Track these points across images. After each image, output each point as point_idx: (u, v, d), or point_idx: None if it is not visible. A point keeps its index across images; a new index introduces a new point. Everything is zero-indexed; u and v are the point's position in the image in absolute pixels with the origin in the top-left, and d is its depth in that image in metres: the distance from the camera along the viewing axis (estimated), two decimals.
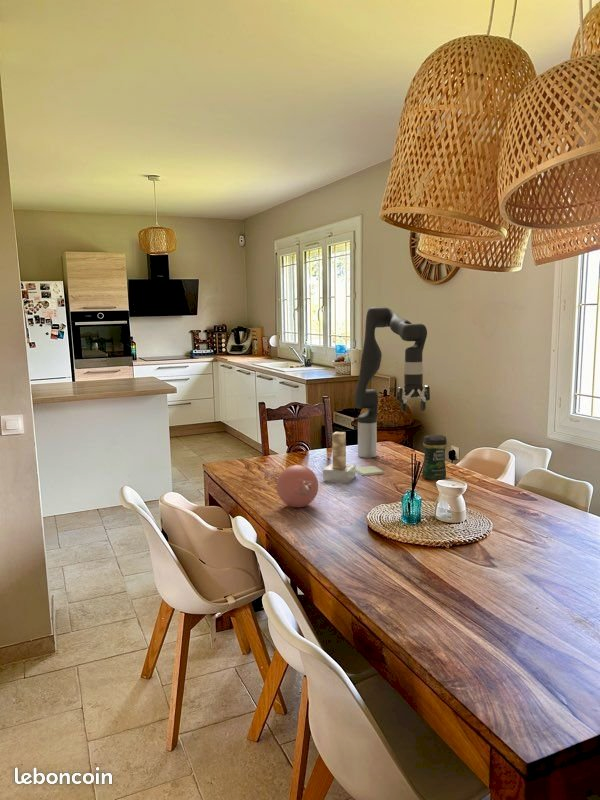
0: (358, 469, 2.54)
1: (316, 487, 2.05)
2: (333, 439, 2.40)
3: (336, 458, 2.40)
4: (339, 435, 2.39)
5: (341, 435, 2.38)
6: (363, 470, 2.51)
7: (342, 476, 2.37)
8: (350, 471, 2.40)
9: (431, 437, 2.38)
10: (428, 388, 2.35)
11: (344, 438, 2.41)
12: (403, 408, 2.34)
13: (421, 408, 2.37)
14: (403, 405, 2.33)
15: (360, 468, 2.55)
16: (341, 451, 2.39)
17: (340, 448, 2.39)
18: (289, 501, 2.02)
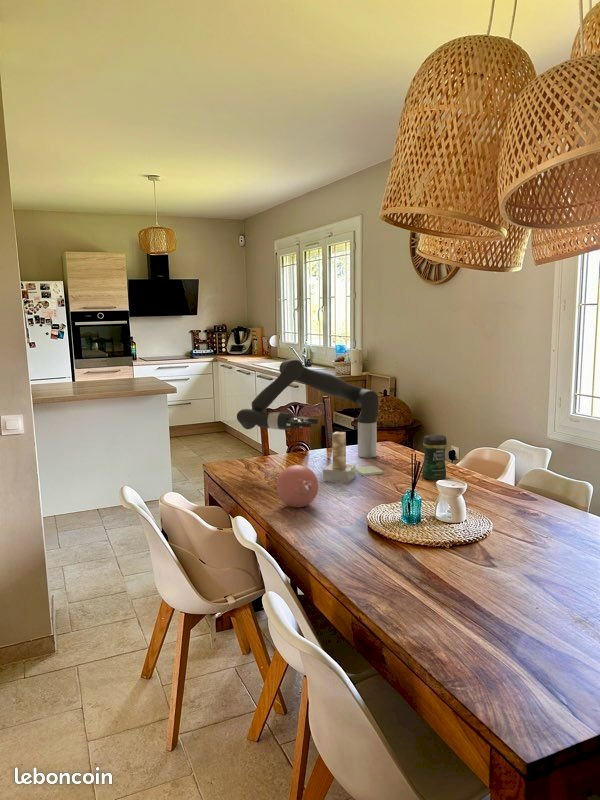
0: (358, 469, 2.54)
1: (316, 487, 2.05)
2: (333, 439, 2.40)
3: (336, 458, 2.40)
4: (339, 435, 2.39)
5: (341, 435, 2.38)
6: (363, 470, 2.51)
7: (342, 476, 2.37)
8: (350, 471, 2.40)
9: (431, 437, 2.38)
10: None
11: (344, 438, 2.41)
12: None
13: None
14: None
15: (360, 468, 2.55)
16: (341, 451, 2.39)
17: (340, 448, 2.39)
18: (289, 501, 2.02)
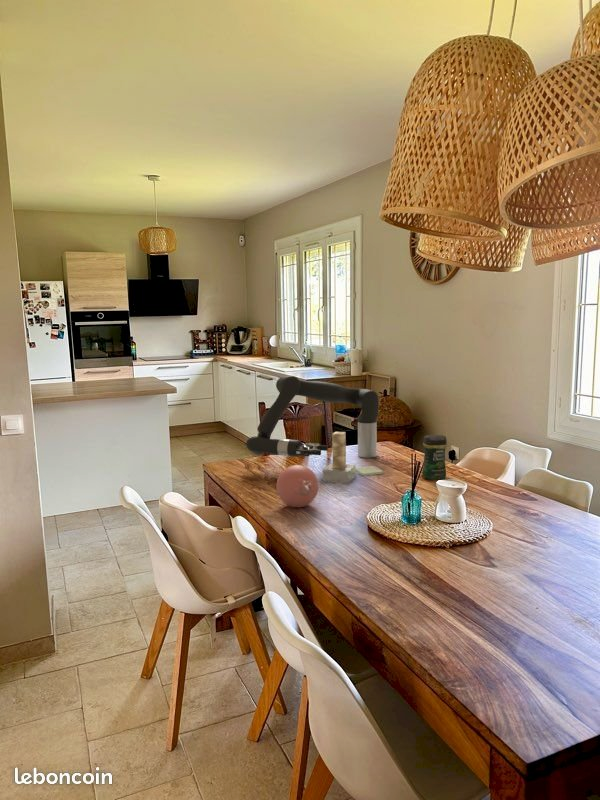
0: (358, 469, 2.54)
1: (316, 487, 2.05)
2: (333, 439, 2.40)
3: (336, 458, 2.41)
4: (339, 435, 2.39)
5: (341, 435, 2.38)
6: (363, 470, 2.51)
7: (342, 476, 2.37)
8: (350, 471, 2.40)
9: (431, 437, 2.38)
10: None
11: (344, 438, 2.41)
12: None
13: None
14: None
15: (360, 468, 2.55)
16: (341, 451, 2.39)
17: (340, 448, 2.39)
18: (289, 501, 2.02)
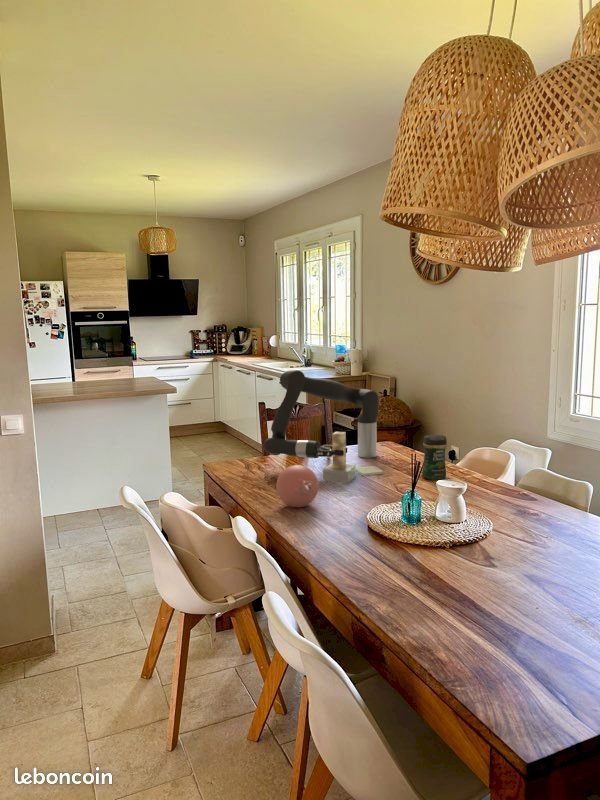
0: (358, 469, 2.54)
1: (316, 487, 2.05)
2: (333, 439, 2.40)
3: (336, 458, 2.41)
4: (339, 435, 2.39)
5: (341, 435, 2.38)
6: (363, 470, 2.51)
7: (342, 476, 2.37)
8: (350, 471, 2.40)
9: (431, 437, 2.38)
10: None
11: (344, 438, 2.41)
12: None
13: None
14: None
15: (360, 468, 2.55)
16: None
17: (340, 448, 2.39)
18: (289, 501, 2.02)
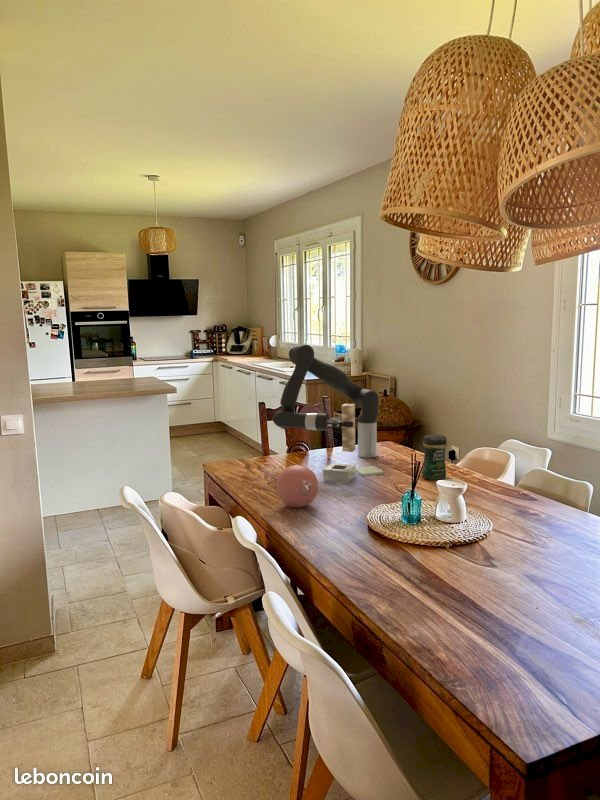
0: (358, 469, 2.54)
1: (316, 487, 2.05)
2: (342, 411, 2.41)
3: (346, 430, 2.42)
4: (348, 407, 2.40)
5: (350, 406, 2.39)
6: (363, 470, 2.51)
7: (342, 476, 2.37)
8: (350, 471, 2.40)
9: (431, 437, 2.38)
10: None
11: (353, 410, 2.42)
12: None
13: None
14: None
15: (360, 468, 2.55)
16: None
17: (349, 420, 2.41)
18: (289, 501, 2.02)
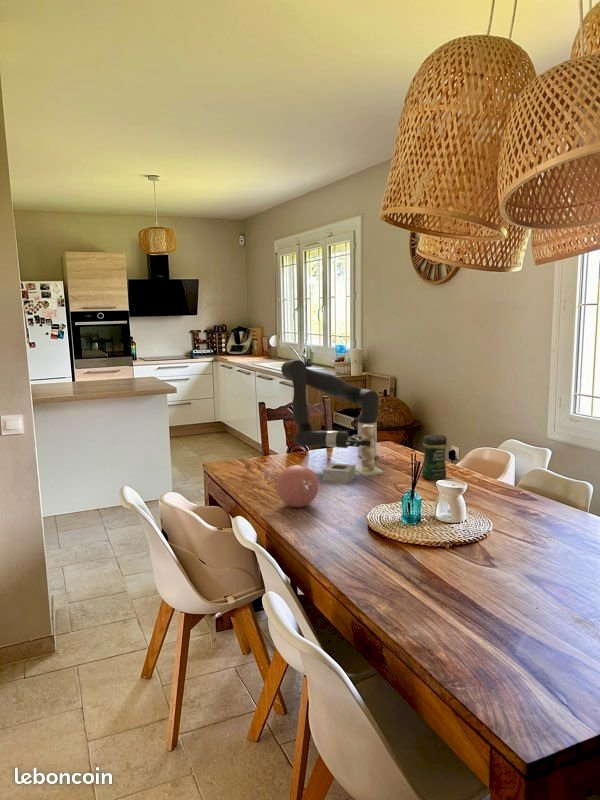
0: (358, 469, 2.54)
1: (316, 487, 2.05)
2: (362, 431, 2.49)
3: (365, 450, 2.50)
4: (368, 428, 2.48)
5: (370, 428, 2.48)
6: None
7: (342, 476, 2.37)
8: (350, 471, 2.40)
9: (431, 437, 2.38)
10: None
11: (373, 431, 2.50)
12: None
13: None
14: None
15: (360, 468, 2.55)
16: (370, 443, 2.49)
17: (369, 440, 2.49)
18: (289, 501, 2.02)
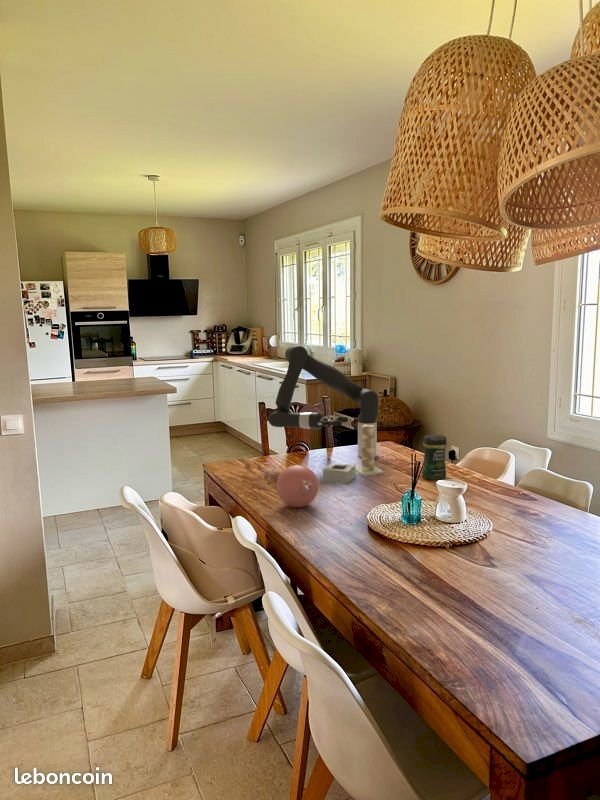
0: (358, 469, 2.54)
1: (316, 487, 2.05)
2: (362, 431, 2.49)
3: (365, 450, 2.50)
4: (368, 428, 2.48)
5: (370, 428, 2.48)
6: None
7: (342, 476, 2.37)
8: (350, 471, 2.40)
9: (431, 437, 2.38)
10: None
11: (373, 431, 2.50)
12: None
13: None
14: None
15: (360, 468, 2.55)
16: (370, 443, 2.49)
17: (369, 440, 2.49)
18: (289, 501, 2.02)
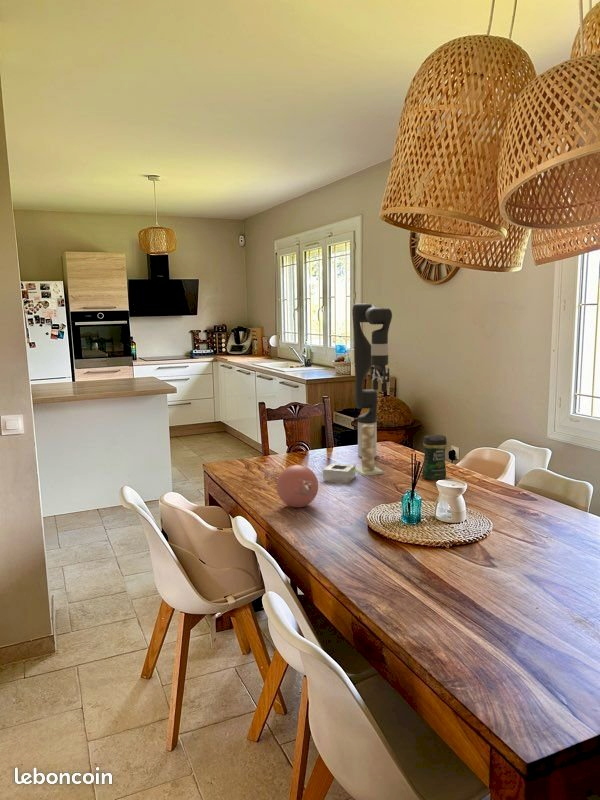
0: (358, 469, 2.54)
1: (316, 487, 2.05)
2: (362, 431, 2.49)
3: (365, 450, 2.50)
4: (368, 428, 2.48)
5: (370, 428, 2.48)
6: None
7: (342, 476, 2.37)
8: (350, 471, 2.40)
9: (431, 437, 2.38)
10: (383, 370, 2.43)
11: (373, 431, 2.50)
12: (373, 385, 2.55)
13: None
14: (373, 383, 2.55)
15: (360, 468, 2.55)
16: (370, 443, 2.49)
17: (369, 440, 2.49)
18: (289, 501, 2.02)
